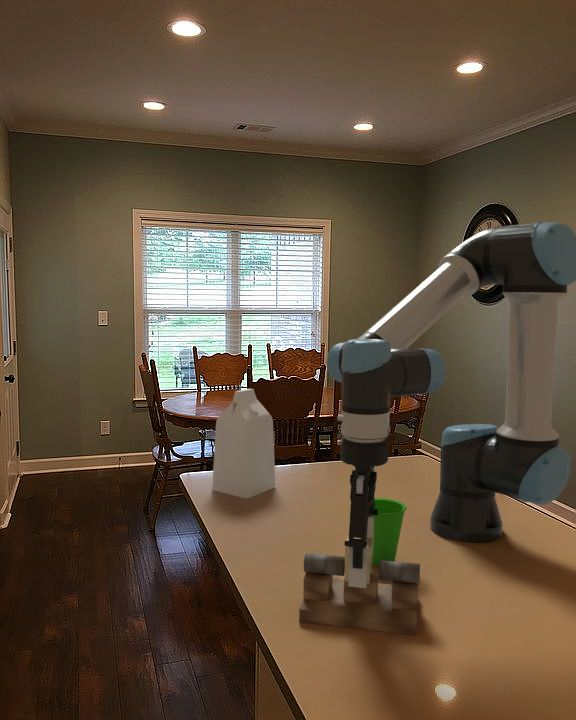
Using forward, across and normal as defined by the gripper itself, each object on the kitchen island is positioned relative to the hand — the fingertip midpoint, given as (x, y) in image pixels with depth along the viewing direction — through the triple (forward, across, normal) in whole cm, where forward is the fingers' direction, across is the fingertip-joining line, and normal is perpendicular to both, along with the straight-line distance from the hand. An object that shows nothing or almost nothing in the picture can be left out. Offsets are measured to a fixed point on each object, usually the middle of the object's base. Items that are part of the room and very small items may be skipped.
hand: (361, 569), depth 104 cm
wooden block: (+1, 0, 0) cm, 1 cm away
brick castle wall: (+7, 0, 0) cm, 7 cm away
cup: (+7, -20, +2) cm, 21 cm away
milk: (+7, -58, -36) cm, 69 cm away
